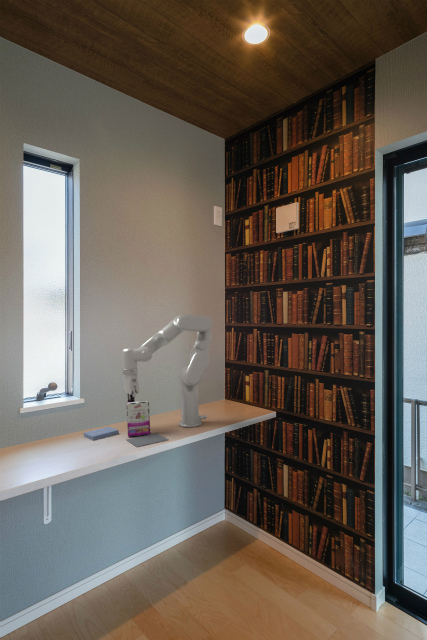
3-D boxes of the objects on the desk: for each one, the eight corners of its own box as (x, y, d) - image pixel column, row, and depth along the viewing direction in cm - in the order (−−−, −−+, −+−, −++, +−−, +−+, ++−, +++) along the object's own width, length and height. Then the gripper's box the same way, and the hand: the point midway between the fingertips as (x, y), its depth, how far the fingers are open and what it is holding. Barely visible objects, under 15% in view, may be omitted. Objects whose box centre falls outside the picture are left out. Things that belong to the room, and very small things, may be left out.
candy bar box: (149, 432, 189) (148, 400, 190) (150, 434, 184) (149, 401, 186) (127, 435, 186) (126, 402, 188) (127, 437, 181) (126, 403, 183)
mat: (156, 433, 187) (156, 433, 187) (168, 440, 176) (168, 439, 176) (126, 440, 178) (126, 439, 178) (136, 447, 167) (136, 446, 167)
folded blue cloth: (109, 431, 196) (108, 426, 196) (118, 435, 189) (118, 430, 189) (83, 437, 186) (83, 432, 186) (92, 441, 179) (92, 436, 179)
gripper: (142, 372, 189) (143, 408, 189) (131, 370, 201) (132, 403, 201) (128, 374, 185) (129, 410, 185) (118, 371, 197) (119, 405, 197)
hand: (131, 407), depth 193 cm, fingers closed
